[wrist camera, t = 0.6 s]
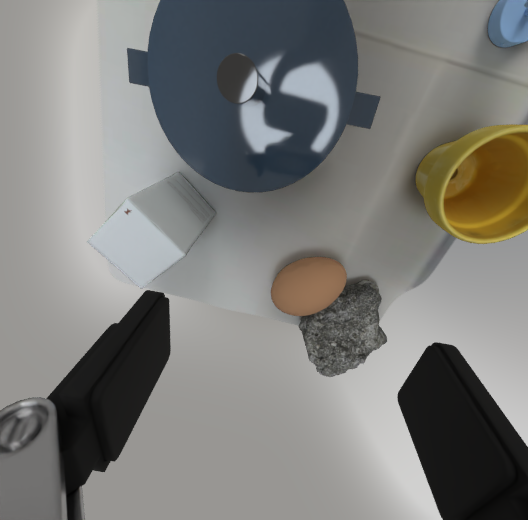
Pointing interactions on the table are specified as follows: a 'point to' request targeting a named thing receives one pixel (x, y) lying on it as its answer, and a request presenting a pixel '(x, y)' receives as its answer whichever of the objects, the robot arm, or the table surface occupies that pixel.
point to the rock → (344, 330)
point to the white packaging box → (153, 229)
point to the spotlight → (509, 23)
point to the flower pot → (478, 184)
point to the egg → (308, 285)
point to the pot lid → (252, 86)
